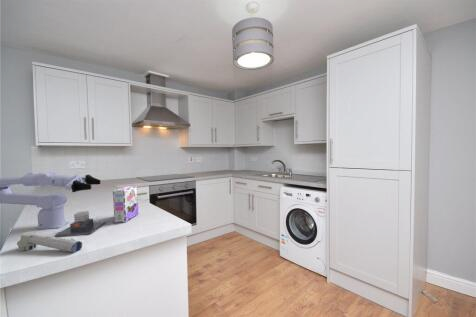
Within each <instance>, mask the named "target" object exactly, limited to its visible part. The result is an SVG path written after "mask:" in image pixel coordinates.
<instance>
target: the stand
mask: <svg viewBox="0 0 476 317" xmlns="http://www.w3.org/2000/svg"><path fill="white" fill-rule="evenodd" d="M106 224H107V221H105V220H104V221H94V218H89V220H88V221H87V222H85V223H75V221H73V222H72V223H70V224H69V227H67V228H65V229H63V230H60V231H59V232H58V233H56V234H54V236H55V238H62V237H74V236H87V235H92V234H93V233H95V232H96V231H98V230H99V229H100V228H102V227H103V226H104V225H106Z"/></svg>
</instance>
